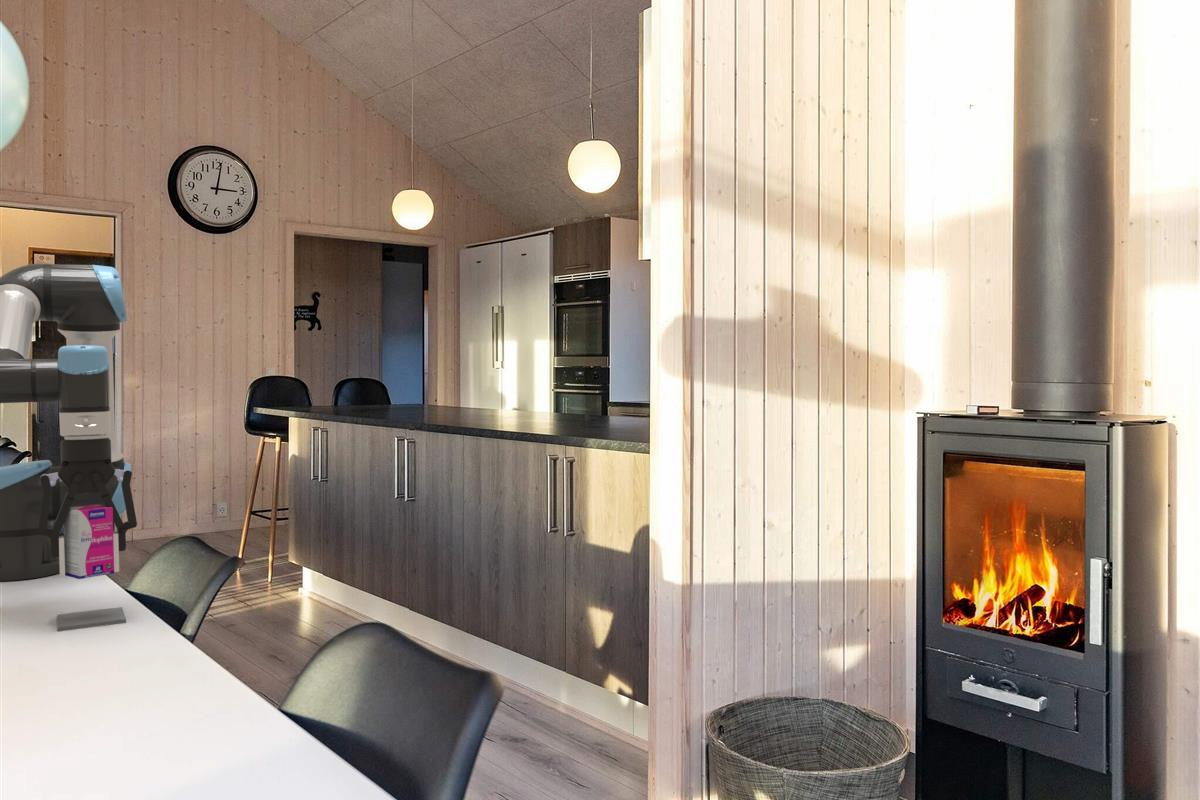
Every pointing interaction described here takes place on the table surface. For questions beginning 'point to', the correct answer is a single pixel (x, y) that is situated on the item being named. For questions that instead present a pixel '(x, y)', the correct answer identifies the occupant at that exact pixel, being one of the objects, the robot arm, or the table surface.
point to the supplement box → (89, 541)
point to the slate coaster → (90, 618)
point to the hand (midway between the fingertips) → (89, 573)
